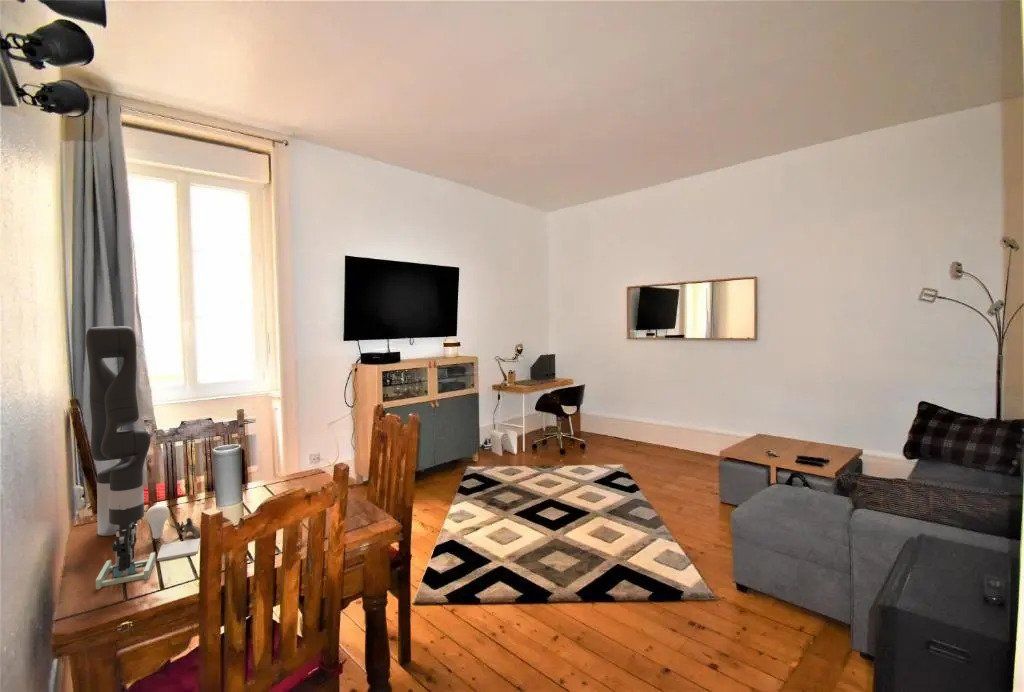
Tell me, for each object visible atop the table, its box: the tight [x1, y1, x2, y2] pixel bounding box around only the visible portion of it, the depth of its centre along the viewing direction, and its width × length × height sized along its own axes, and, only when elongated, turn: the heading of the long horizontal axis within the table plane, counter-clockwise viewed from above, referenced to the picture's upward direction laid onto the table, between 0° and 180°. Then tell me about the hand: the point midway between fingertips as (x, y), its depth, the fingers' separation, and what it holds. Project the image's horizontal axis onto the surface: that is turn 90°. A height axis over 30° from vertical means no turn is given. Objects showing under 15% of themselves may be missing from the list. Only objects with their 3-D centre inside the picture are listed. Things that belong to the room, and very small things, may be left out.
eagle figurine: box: [169, 517, 201, 540], centre depth 155 cm, size 8×7×9 cm
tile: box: [156, 538, 201, 562], centre depth 145 cm, size 10×10×1 cm
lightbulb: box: [145, 504, 170, 540], centre depth 153 cm, size 6×6×11 cm
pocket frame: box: [95, 551, 156, 590], centre depth 131 cm, size 12×11×2 cm
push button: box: [110, 539, 143, 579], centre depth 131 cm, size 7×5×10 cm
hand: (127, 563), depth 131 cm, fingers closed on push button, 4 cm apart
